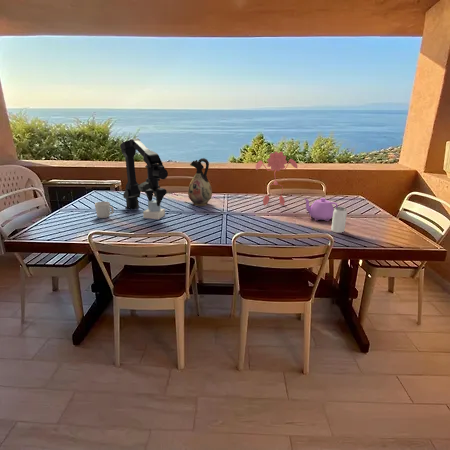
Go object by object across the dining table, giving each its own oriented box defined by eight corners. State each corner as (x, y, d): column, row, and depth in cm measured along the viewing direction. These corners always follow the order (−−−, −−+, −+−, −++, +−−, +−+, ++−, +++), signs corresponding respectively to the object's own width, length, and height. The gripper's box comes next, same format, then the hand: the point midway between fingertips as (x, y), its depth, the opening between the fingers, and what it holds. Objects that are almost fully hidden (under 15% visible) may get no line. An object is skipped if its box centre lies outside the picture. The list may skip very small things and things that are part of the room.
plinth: (143, 218, 194) (143, 211, 192) (150, 214, 202) (150, 207, 201) (158, 220, 192) (158, 213, 190) (165, 215, 200) (164, 208, 199)
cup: (118, 216, 195) (117, 202, 193) (109, 220, 188) (108, 206, 186) (102, 214, 198) (101, 200, 196) (92, 218, 191) (91, 204, 189)
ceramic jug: (183, 205, 220) (182, 158, 210) (194, 200, 233) (194, 155, 224) (208, 209, 214) (208, 160, 204) (217, 203, 227) (218, 157, 218)
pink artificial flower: (253, 203, 230) (255, 149, 218) (292, 204, 229) (296, 150, 218) (254, 209, 215) (257, 152, 203) (296, 210, 215) (301, 153, 203)
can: (329, 229, 180) (331, 207, 177) (341, 229, 181) (344, 206, 177) (333, 233, 174) (336, 210, 171) (346, 233, 175) (349, 210, 171)
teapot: (303, 221, 192) (305, 200, 189) (300, 214, 206) (302, 194, 202) (339, 223, 191) (342, 201, 187) (334, 216, 204) (337, 195, 200)
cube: (160, 210, 196) (160, 201, 194) (152, 211, 192) (152, 203, 191) (156, 208, 199) (155, 200, 198) (148, 209, 196) (147, 201, 195)
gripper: (131, 175, 192) (133, 203, 196) (147, 181, 178) (149, 210, 183) (149, 173, 198) (151, 200, 203) (166, 178, 185) (167, 207, 190)
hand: (154, 204), depth 195 cm, fingers open, 9 cm apart
